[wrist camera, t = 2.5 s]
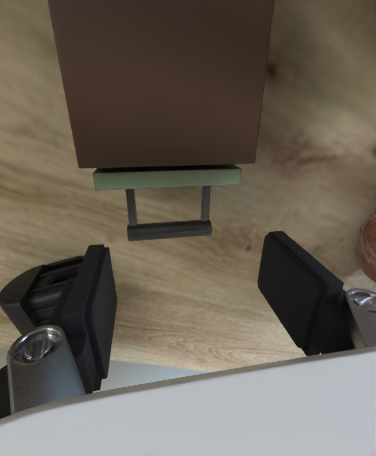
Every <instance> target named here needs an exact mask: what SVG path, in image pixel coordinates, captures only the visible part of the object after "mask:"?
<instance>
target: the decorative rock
mask: <svg viewBox="0 0 376 456" xmlns="http://www.w3.org/2000/svg"><path fill="white" fill-rule="evenodd" d="M360 229H361V235H360V241H359V244H358V250H357V260H358V264H359V266H360V267H361V268H362V270H363V271H364V273H365V274H366V275H367V276H368V277H369V278H370V279H372V280H373V281H375V282H376V213H374V214H372V215H371V216H370V218H369V220H368V221H367V223H366V224H365V225H364V226H362V227H360Z"/></svg>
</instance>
